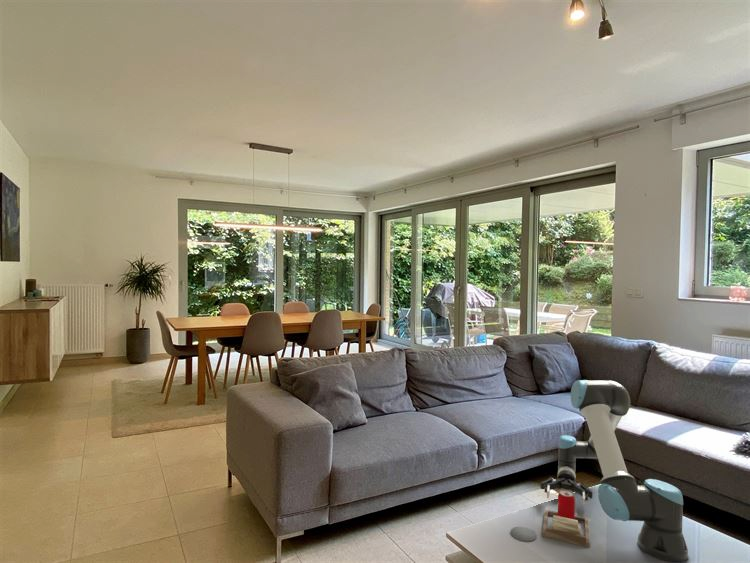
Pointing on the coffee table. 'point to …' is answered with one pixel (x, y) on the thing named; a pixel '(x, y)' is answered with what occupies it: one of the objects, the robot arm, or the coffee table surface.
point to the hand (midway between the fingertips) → (565, 498)
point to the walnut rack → (566, 535)
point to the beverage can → (566, 504)
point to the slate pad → (523, 534)
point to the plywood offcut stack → (566, 525)
